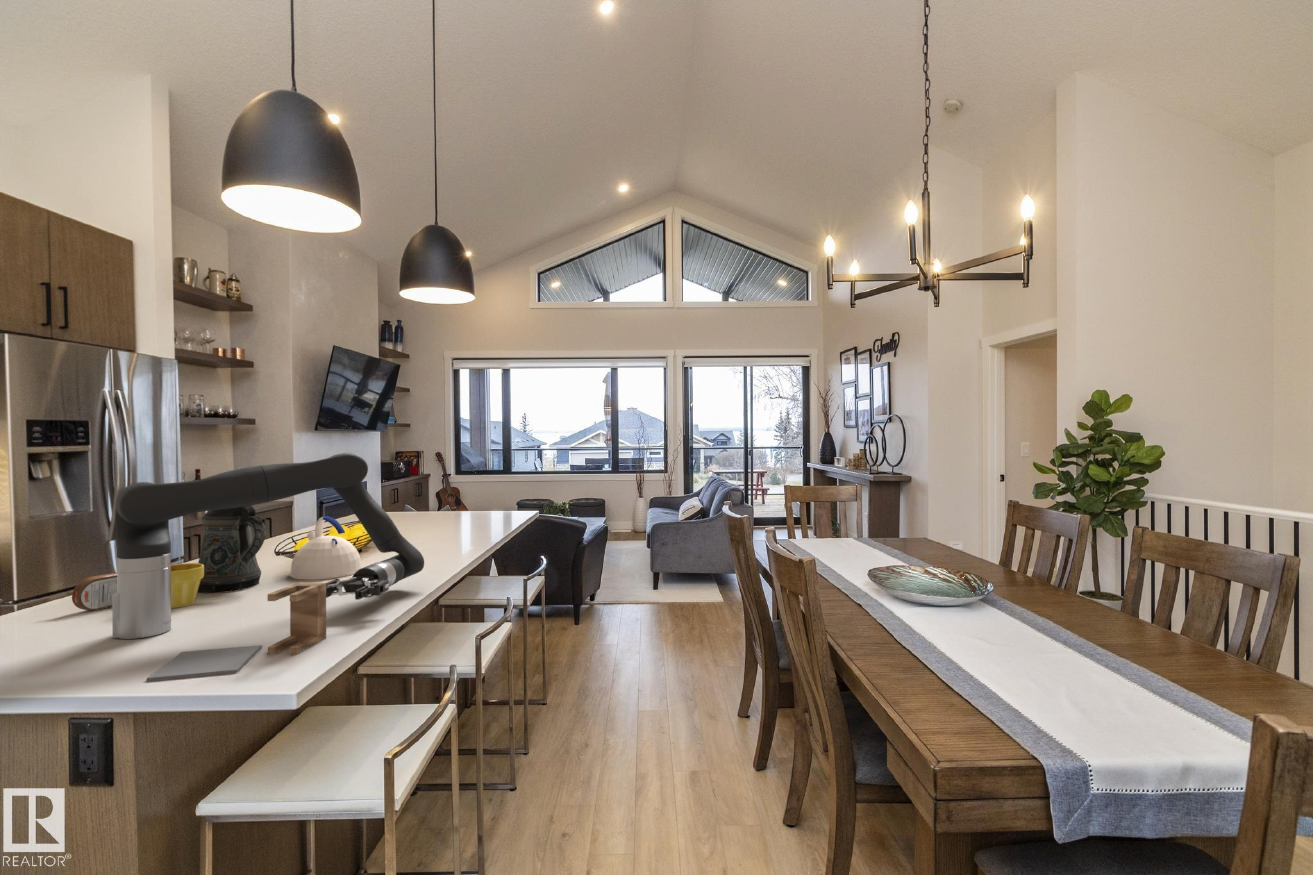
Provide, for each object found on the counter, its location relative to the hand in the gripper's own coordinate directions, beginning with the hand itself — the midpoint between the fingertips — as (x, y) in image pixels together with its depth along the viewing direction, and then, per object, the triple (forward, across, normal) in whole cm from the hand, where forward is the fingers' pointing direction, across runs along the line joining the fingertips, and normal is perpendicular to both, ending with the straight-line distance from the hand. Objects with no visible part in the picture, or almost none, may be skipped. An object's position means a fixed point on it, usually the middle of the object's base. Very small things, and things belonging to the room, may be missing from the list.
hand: (338, 595), depth 144 cm
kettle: (-53, -35, +7) cm, 64 cm away
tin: (-11, -67, +7) cm, 68 cm away
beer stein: (-34, -52, +7) cm, 62 cm away
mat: (+25, -11, +7) cm, 28 cm away
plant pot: (-14, -51, +7) cm, 53 cm away
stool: (+15, 0, +7) cm, 16 cm away
